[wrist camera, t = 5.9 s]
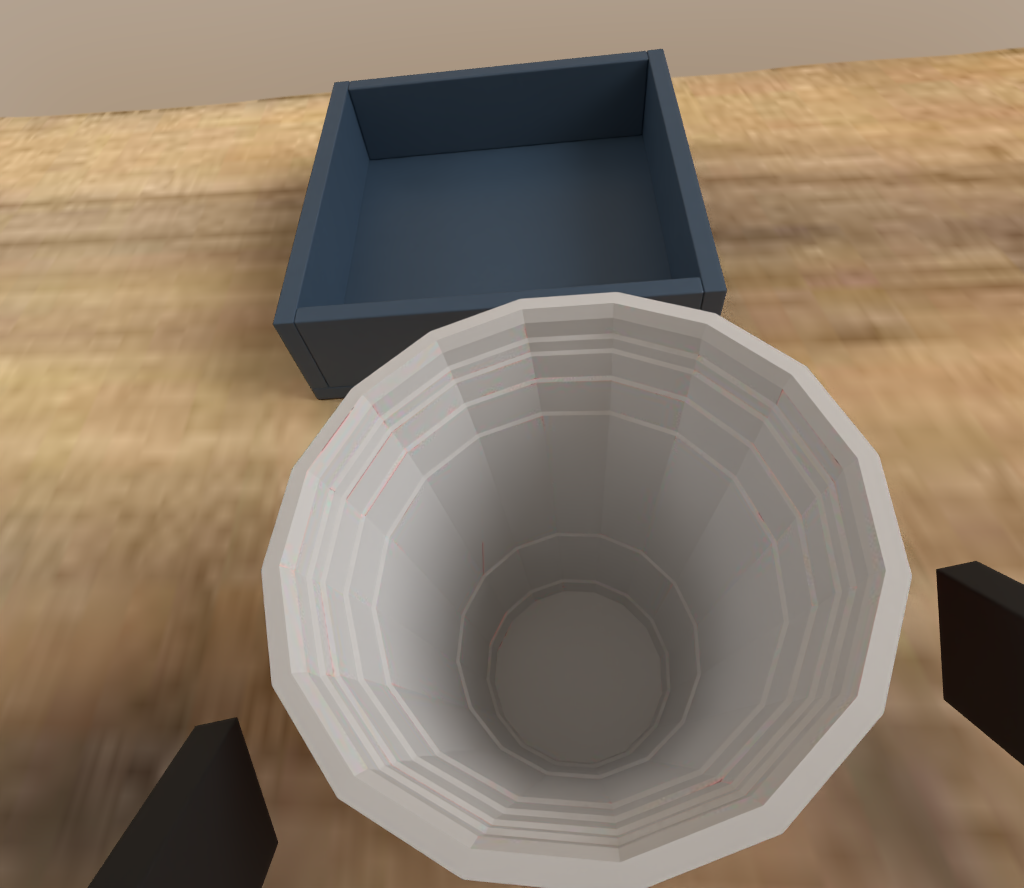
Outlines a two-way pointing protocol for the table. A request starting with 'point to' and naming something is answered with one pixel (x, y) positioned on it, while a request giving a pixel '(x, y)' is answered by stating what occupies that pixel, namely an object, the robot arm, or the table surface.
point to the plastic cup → (585, 592)
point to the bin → (490, 205)
